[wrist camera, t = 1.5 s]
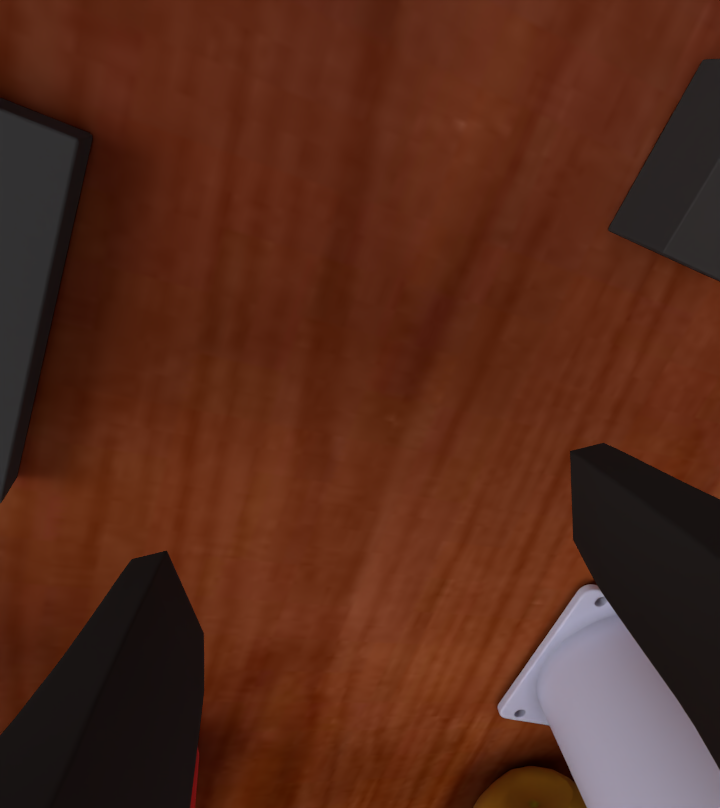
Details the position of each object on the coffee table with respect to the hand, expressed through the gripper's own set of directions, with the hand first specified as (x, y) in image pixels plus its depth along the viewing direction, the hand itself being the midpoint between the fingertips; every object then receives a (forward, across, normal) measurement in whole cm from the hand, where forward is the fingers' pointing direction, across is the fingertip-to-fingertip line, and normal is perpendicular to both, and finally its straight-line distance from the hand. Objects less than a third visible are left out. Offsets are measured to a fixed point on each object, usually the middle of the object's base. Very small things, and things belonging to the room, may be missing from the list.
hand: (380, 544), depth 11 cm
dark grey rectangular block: (+10, -12, -2) cm, 16 cm away
